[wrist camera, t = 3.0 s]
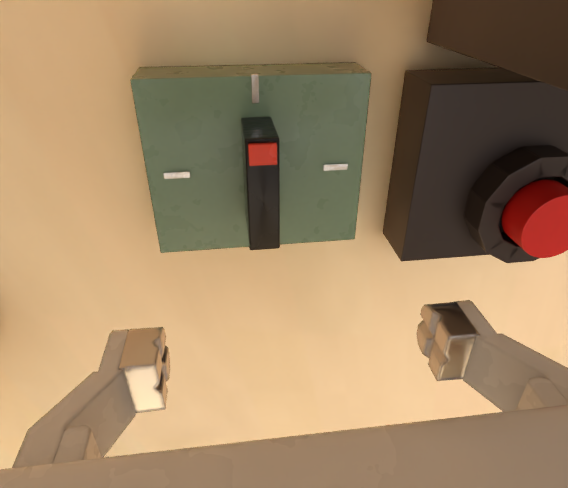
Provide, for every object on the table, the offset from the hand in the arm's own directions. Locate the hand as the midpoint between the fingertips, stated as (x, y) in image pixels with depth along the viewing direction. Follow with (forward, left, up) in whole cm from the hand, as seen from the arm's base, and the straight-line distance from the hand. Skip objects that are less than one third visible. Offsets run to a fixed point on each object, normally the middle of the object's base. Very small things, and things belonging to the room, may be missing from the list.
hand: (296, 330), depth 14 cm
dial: (0, 0, -13) cm, 13 cm away
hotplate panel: (0, 0, -16) cm, 16 cm away
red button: (+16, -2, -11) cm, 19 cm away
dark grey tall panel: (+16, -1, -16) cm, 22 cm away
